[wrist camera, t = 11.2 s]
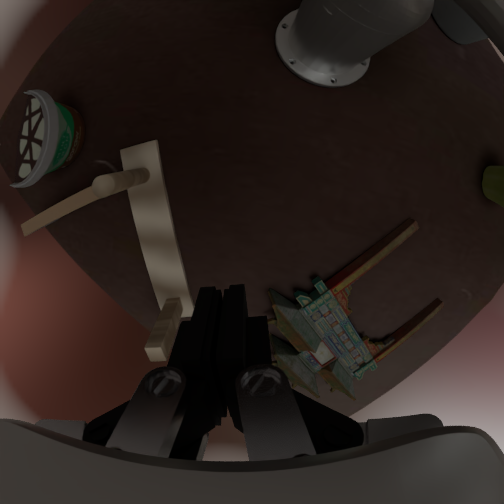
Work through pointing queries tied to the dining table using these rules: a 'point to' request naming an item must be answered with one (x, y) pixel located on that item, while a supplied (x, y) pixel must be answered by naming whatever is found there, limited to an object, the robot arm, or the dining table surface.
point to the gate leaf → (59, 210)
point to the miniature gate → (336, 326)
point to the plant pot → (494, 184)
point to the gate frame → (153, 238)
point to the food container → (46, 138)
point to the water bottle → (456, 22)
